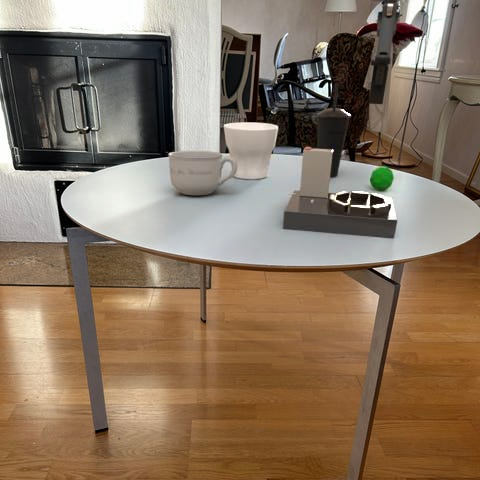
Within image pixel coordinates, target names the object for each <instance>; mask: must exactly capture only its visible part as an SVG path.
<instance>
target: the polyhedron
mask: <svg viewBox="0 0 480 480" xmlns="http://www.w3.org/2000/svg"><path fill="white" fill-rule="evenodd" d="M394 179H395V175H394V173H393V170H392V169H391V168H389V167H388V166H384V165H383V166H382V165H381V166H378V167H376V168H375V169H374V170H372V172H371V175H370V178H369V182H370V186H371V187H372V188H373V189H375V190H376V189H377V190H376V191H380V190H383V191H386V190H388V189H389V188H390V187H392V185H393V181H394Z"/></svg>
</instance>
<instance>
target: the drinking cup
mask: <svg viewBox="0 0 480 480" xmlns="http://www.w3.org/2000/svg"><path fill="white" fill-rule="evenodd" d="M338 92H339V82H335V84H334V94H333V104H332V107H330V108H326V109H323V110H321V111H319V112H317V113H316V117H317V148H316V149H330V150H333V154H332V164H331V173H330V178H336V177H338V174H339V169H340V165H341V160H342V154H343V150H344V144H345V140H346V136H347V130H348V125H349V121H350V118H351V117H352V115H351V114H350V113H348V111H347V112H346V111H345V110H344V109H341V108H338V107H337V100H338Z"/></svg>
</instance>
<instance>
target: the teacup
mask: <svg viewBox="0 0 480 480" xmlns="http://www.w3.org/2000/svg"><path fill="white" fill-rule="evenodd" d="M167 156H168V164H169V165H168V166H169V177H170V182H171V185H172V186H173V187H174V189H176V190H177V191H178V192H179V193H180V194H182V195H186V196H206V195H211V194H213V193H214V191H216V189H218V188H219V187H221V186H223V185H224V183H225V182H226V181H227V182H228V180H230V179H232V178H234V177H233V176H234V175H235V173H236V171H237V162H236V160H235V159H234V158H232V157H230V155H229V156H228V155H227V156H223V154H222V153H221V152H217V151H210V150H180V151H179V150H178V151H172V152H169V153H168V154H167ZM227 162H229V163H230V165H231V164H232V166H231V170H230V172H229V173H228V174H226V175H225V176H222V173H223V172H222V170H223V168H224V165H225V163H227Z"/></svg>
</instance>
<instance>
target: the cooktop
mask: <svg viewBox="0 0 480 480" xmlns="http://www.w3.org/2000/svg"><path fill="white" fill-rule="evenodd" d="M333 193H334V192H328V198H321V197H308V196H300V190H293V192H288V195H290V198H289V200H288V202H287V204H286V206H285V209H284V211H283V223H282V224H283V225H282V229H284V230H295V231H308V232H318V233H319V232H320V233H329V234H330V233H331V234H343V235H353V236H354V235H355V236H366V237H377V238H387V239H395V236H396V231H397V225H398V218H397V217H398V216H397V213H396V208H395V204H394V200H393V197H389V196H386V197H387V199H390V200H391V209H390V211H389V213H388V214H386V215H383V216H379V217H354V216H348V215H343V214H340V213H337V212H334V211H332V210H331V209H330V208H329V199H330V195H333ZM350 197H351V193H349V198H350ZM368 200H370V195H368Z"/></svg>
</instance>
